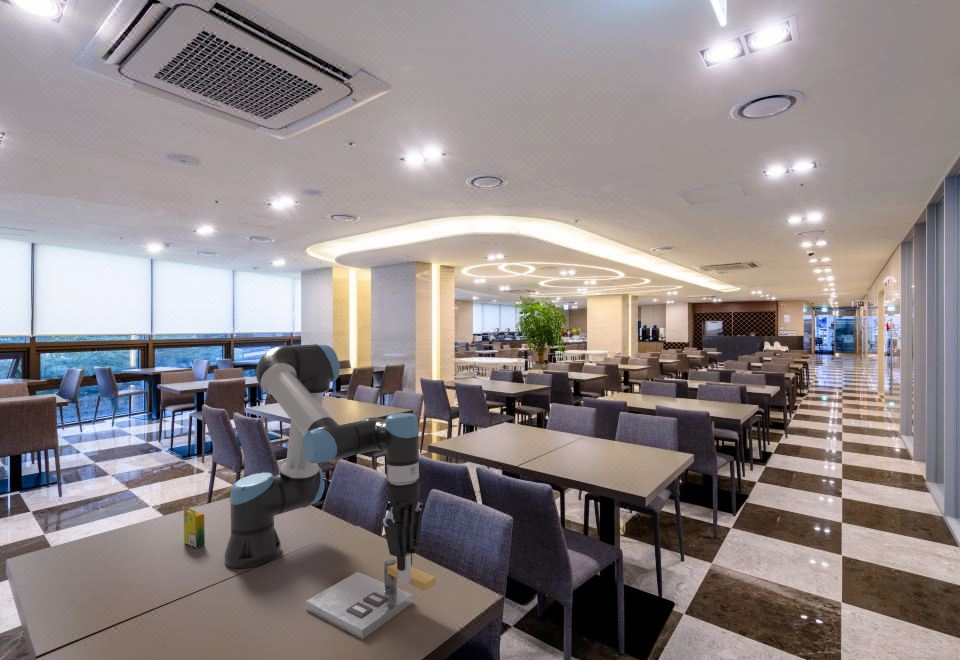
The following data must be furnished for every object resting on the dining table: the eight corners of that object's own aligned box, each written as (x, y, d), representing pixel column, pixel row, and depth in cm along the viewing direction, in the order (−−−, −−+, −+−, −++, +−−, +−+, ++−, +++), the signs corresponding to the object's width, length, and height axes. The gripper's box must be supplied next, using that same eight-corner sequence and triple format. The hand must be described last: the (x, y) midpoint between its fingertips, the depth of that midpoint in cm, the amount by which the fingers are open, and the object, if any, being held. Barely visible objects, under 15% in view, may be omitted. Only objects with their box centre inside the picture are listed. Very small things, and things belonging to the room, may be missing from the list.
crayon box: (205, 545, 146) (204, 508, 146) (195, 548, 143) (194, 511, 143) (193, 539, 150) (192, 504, 150) (183, 543, 147) (183, 507, 147)
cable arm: (380, 570, 114) (380, 563, 114) (392, 564, 117) (391, 558, 117) (424, 591, 104) (424, 584, 104) (435, 584, 107) (435, 577, 107)
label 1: (346, 610, 106) (346, 609, 106) (358, 603, 109) (358, 601, 109) (361, 617, 103) (361, 616, 103) (372, 610, 106) (372, 608, 106)
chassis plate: (305, 609, 110) (305, 601, 110) (357, 579, 123) (357, 571, 123) (362, 639, 99) (362, 630, 99) (412, 602, 112) (412, 594, 112)
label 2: (363, 600, 110) (362, 598, 110) (373, 593, 113) (373, 591, 113) (377, 606, 107) (377, 605, 107) (388, 599, 110) (388, 597, 110)
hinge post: (382, 599, 114) (381, 571, 114) (390, 593, 116) (390, 566, 116) (390, 602, 112) (390, 575, 112) (399, 596, 115) (399, 569, 115)
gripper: (394, 490, 100) (396, 599, 100) (433, 475, 111) (435, 574, 110) (371, 485, 105) (373, 590, 104) (410, 471, 115) (412, 566, 115)
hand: (405, 581), depth 107 cm, fingers closed
